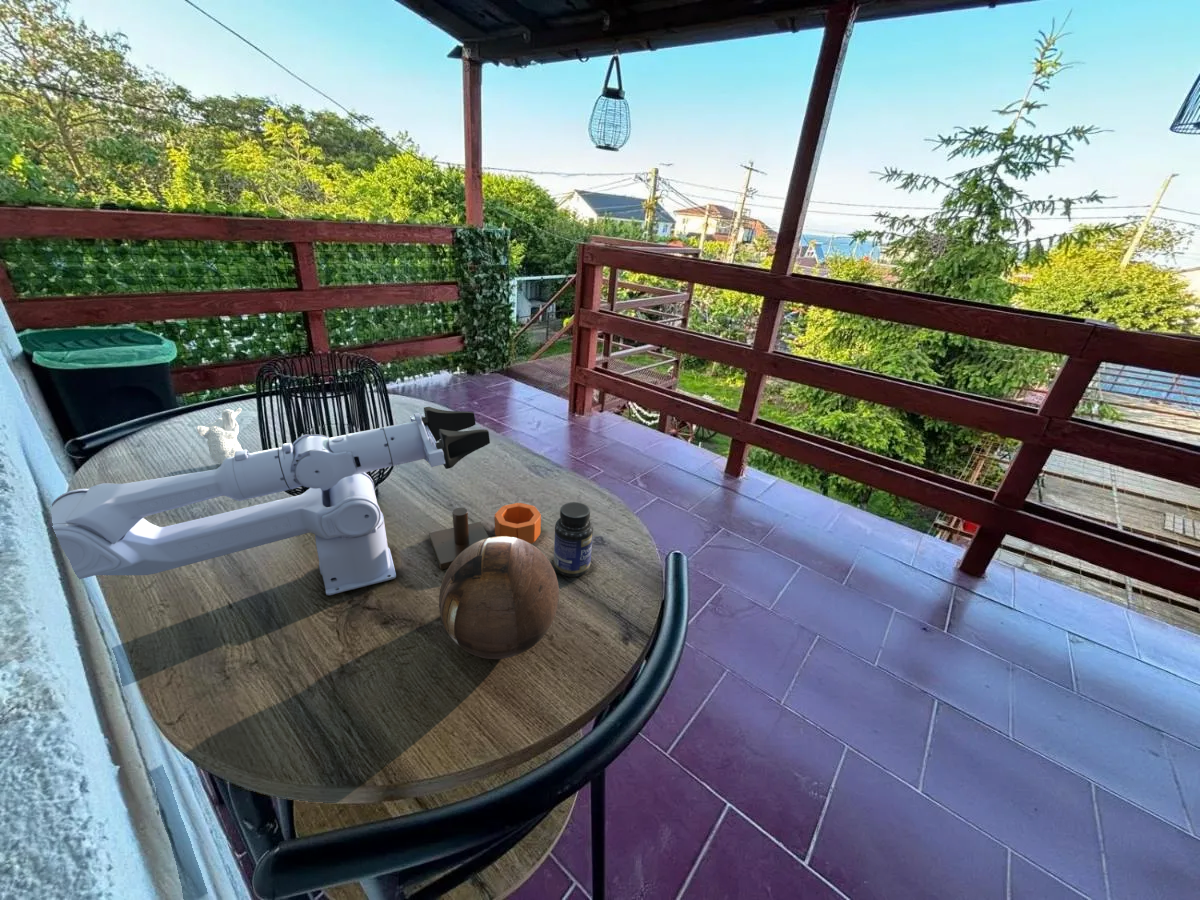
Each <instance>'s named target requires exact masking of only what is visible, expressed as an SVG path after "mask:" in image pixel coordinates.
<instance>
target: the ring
mask: <svg viewBox="0 0 1200 900" xmlns="http://www.w3.org/2000/svg"><path fill="white" fill-rule="evenodd" d="M541 525H542V514H541V513H540V511H539V510H538V508H537V507H536V506H534V505H533V504H527V503H523V502H515V503H509V504H506V505H502V506H501V507H500V508H499V509H498V510H497V511H496V512H495V513H494V535H495V537H498V536H507V537H514V538H518V539H521V540H524V541H526V542H528V543H530V544H532V545H533V544H534V543H535V542H536V541H537V539H538V538H539V537H540V535H541V527H542V526H541Z"/></svg>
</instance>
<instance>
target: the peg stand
mask: <svg viewBox="0 0 1200 900" xmlns="http://www.w3.org/2000/svg"><path fill="white" fill-rule="evenodd" d="M468 511H469V510H468V509H467V508H465V507H456V508H454V509H453V510H452V513H451V514H452V524H453V526H452V527H451V528H445V529H442V530H437V531H432V532H429V533H428V538H429V542H430V543H431V546H432V549H433V552H434V555H435V557H436V560H437V562H438V565H439V568H440V570H442V571H443V570H447V569H448V568H449V566H450V565H451V563H452V562H453V561H454V559H455V558H456V557H457V556H458V555H459V554H460V553H461V552H462V551H464V550H465V549H466V548H468V547H469V546H471V545H472V544H474V543H476V542H478V541H481V540H484V539H487V538H490V537H489V535H488V533H487V531H486V529H485V527H484V525H483V524H482V522H481V521H476V522H473V523H469V516H468V515H469V512H468Z"/></svg>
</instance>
